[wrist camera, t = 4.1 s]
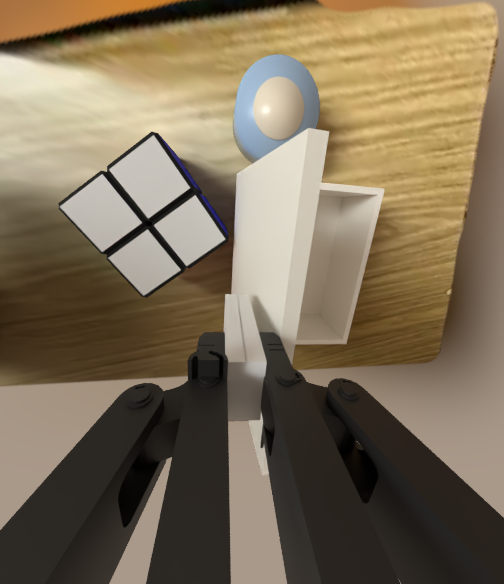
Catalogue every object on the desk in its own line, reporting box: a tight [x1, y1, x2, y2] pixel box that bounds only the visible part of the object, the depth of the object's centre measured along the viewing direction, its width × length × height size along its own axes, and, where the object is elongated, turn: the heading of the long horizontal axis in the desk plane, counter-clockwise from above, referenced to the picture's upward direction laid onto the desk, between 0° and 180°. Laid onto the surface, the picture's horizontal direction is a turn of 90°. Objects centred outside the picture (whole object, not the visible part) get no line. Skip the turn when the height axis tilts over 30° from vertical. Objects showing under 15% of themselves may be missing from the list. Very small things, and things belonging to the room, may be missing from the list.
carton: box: [295, 183, 385, 344], centre depth 29 cm, size 14×18×8 cm
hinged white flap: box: [231, 128, 329, 476], centre depth 17 cm, size 14×18×1 cm
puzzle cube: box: [59, 132, 229, 297], centre depth 24 cm, size 10×10×10 cm
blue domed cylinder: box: [233, 55, 320, 163], centre depth 24 cm, size 8×8×6 cm
